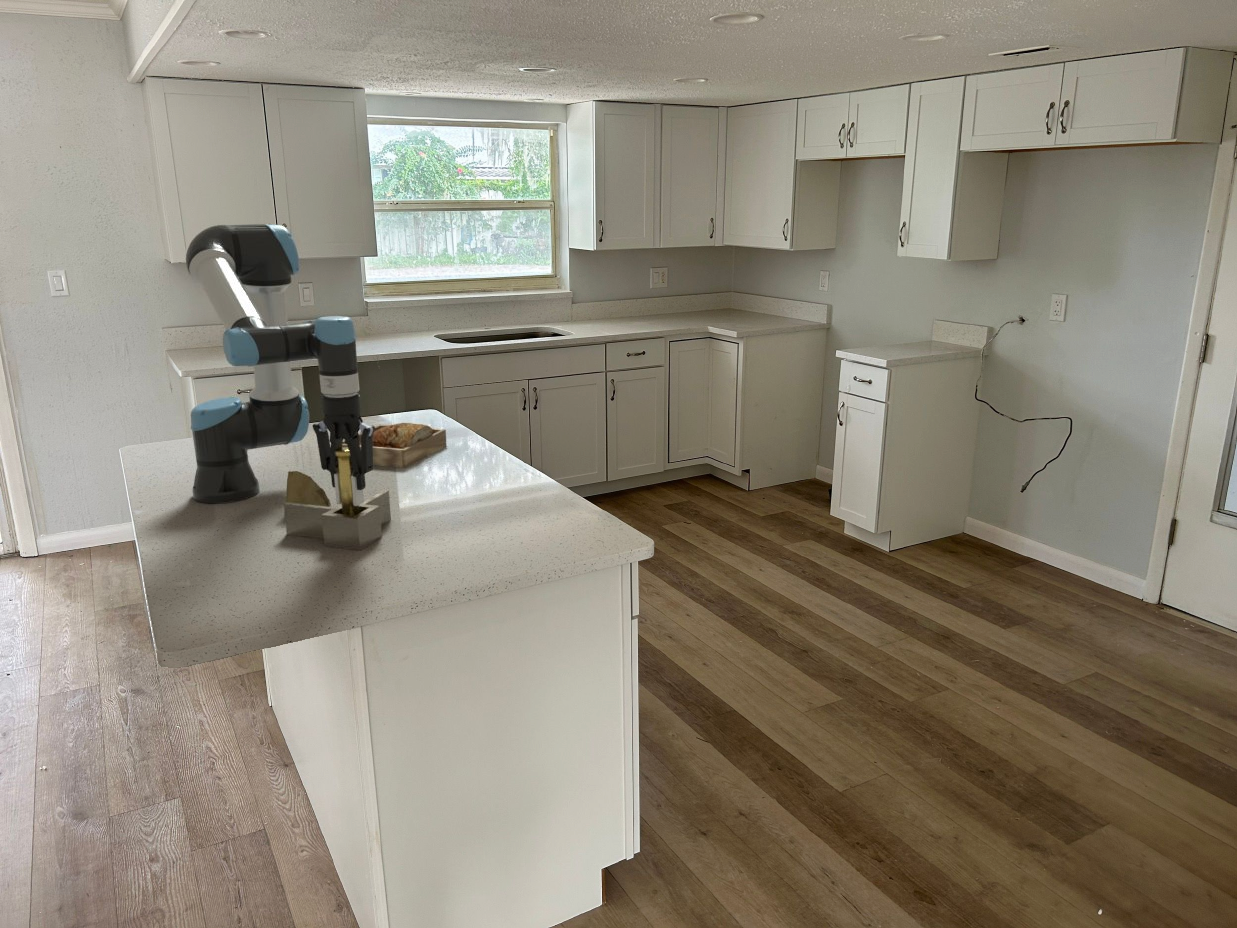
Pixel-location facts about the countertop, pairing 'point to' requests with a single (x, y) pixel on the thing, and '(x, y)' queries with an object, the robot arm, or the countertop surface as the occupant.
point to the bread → (400, 435)
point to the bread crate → (407, 450)
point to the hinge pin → (346, 481)
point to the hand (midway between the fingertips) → (350, 502)
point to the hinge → (340, 522)
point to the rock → (305, 490)
